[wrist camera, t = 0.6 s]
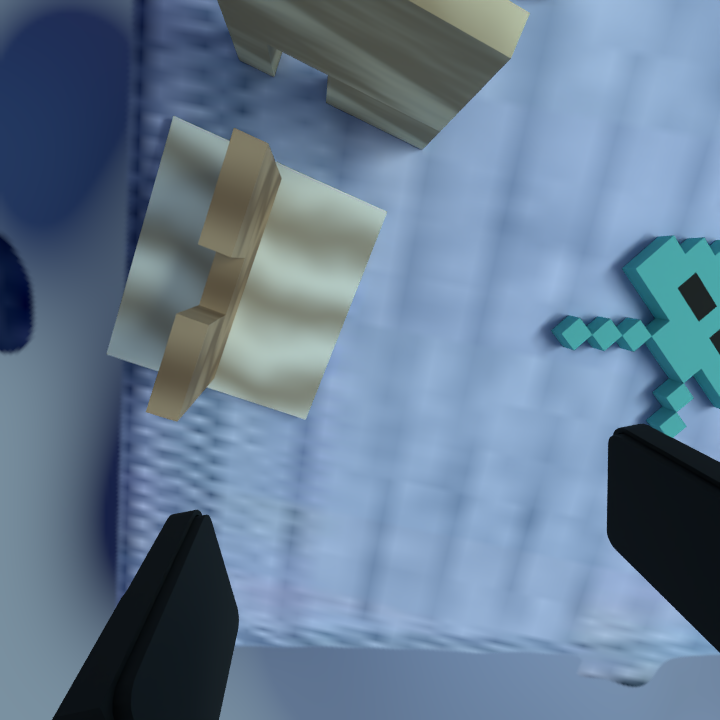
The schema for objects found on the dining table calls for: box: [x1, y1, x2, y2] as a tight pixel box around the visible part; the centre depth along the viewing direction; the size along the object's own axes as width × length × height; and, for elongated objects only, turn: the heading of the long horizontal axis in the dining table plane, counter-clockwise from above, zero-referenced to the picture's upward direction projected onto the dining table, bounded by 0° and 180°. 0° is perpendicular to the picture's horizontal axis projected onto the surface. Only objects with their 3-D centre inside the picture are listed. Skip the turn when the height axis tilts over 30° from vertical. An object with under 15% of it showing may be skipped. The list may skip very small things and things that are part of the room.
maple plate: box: [217, 0, 530, 150], centre depth 25 cm, size 2×16×16 cm, turn 68°
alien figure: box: [551, 236, 720, 438], centre depth 41 cm, size 20×2×20 cm
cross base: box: [107, 116, 387, 421], centre depth 30 cm, size 20×18×11 cm
